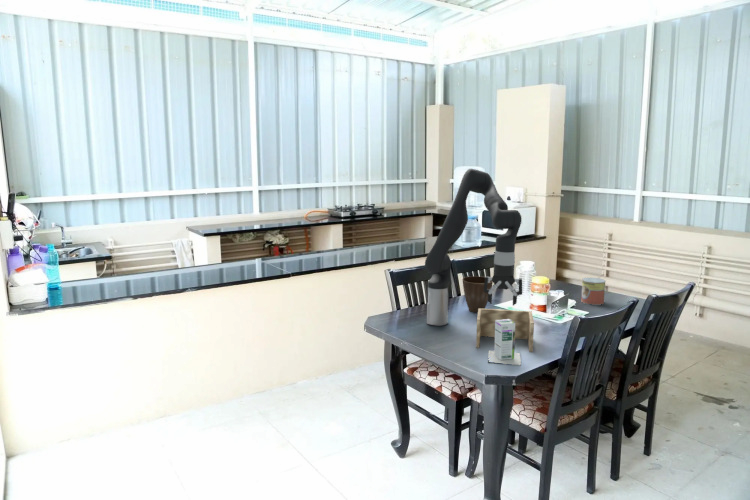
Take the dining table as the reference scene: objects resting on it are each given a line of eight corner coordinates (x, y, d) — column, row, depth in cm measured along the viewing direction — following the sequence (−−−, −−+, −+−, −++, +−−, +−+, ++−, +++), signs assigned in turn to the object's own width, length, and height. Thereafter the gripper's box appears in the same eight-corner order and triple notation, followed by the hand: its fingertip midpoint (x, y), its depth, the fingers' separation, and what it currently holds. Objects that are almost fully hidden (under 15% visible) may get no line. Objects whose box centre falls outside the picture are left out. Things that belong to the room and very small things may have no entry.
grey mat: (487, 362, 197) (487, 361, 197) (488, 351, 208) (488, 350, 208) (520, 365, 194) (521, 364, 194) (519, 353, 205) (519, 352, 205)
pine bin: (476, 347, 212) (476, 319, 210) (477, 334, 227) (478, 308, 225) (532, 352, 207) (534, 323, 205) (530, 338, 222) (531, 311, 220)
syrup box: (500, 360, 198) (501, 323, 195) (493, 354, 203) (495, 319, 201) (514, 359, 199) (515, 322, 196) (507, 353, 205) (508, 318, 202)
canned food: (576, 300, 280) (577, 278, 278) (593, 298, 284) (595, 277, 282) (590, 306, 270) (592, 283, 268) (608, 304, 273) (610, 281, 271)
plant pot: (492, 307, 269) (493, 277, 266) (491, 315, 254) (492, 283, 252) (463, 305, 272) (463, 275, 269) (460, 313, 258) (461, 282, 255)
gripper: (523, 261, 199) (521, 302, 202) (485, 259, 203) (483, 299, 206) (524, 265, 192) (521, 308, 195) (484, 263, 195) (482, 305, 198)
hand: (502, 304), depth 200 cm, fingers open, 8 cm apart
